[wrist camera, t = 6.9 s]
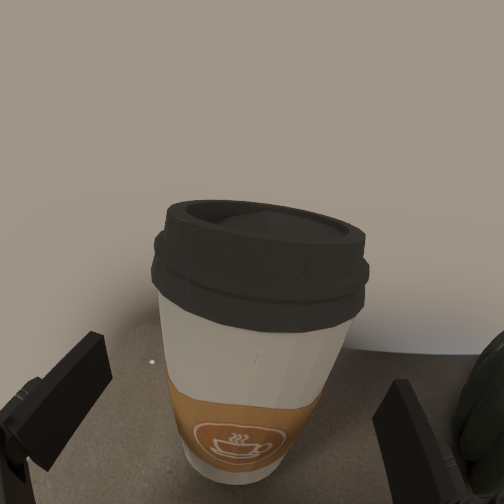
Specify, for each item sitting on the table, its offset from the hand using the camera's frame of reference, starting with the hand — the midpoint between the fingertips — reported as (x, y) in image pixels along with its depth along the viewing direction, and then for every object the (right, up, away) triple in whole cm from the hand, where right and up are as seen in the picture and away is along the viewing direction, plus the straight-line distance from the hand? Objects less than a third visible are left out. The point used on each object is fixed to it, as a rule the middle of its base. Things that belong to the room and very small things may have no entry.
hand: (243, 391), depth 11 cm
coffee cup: (-1, -7, +4) cm, 8 cm away
